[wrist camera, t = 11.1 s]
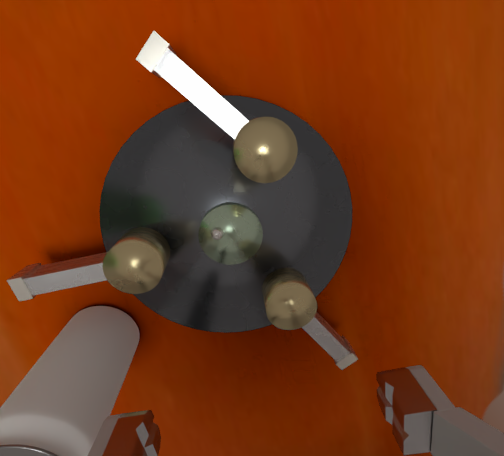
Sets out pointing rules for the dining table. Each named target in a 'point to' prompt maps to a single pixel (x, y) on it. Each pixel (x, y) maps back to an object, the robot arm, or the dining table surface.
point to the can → (70, 386)
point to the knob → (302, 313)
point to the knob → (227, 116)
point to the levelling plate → (226, 214)
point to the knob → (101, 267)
